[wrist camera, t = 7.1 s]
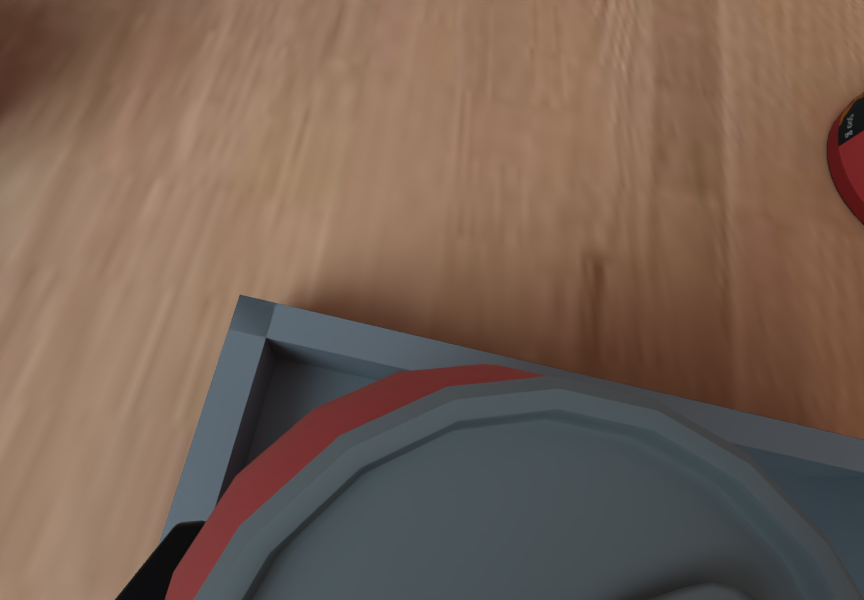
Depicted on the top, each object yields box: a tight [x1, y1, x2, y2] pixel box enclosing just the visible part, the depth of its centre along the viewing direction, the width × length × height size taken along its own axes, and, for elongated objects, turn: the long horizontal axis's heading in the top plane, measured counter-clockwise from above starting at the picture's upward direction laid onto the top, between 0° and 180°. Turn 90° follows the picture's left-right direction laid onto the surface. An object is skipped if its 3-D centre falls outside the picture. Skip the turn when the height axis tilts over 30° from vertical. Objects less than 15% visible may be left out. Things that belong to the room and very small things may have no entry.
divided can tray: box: [158, 295, 864, 599], centre depth 16 cm, size 11×21×4 cm, turn 79°
